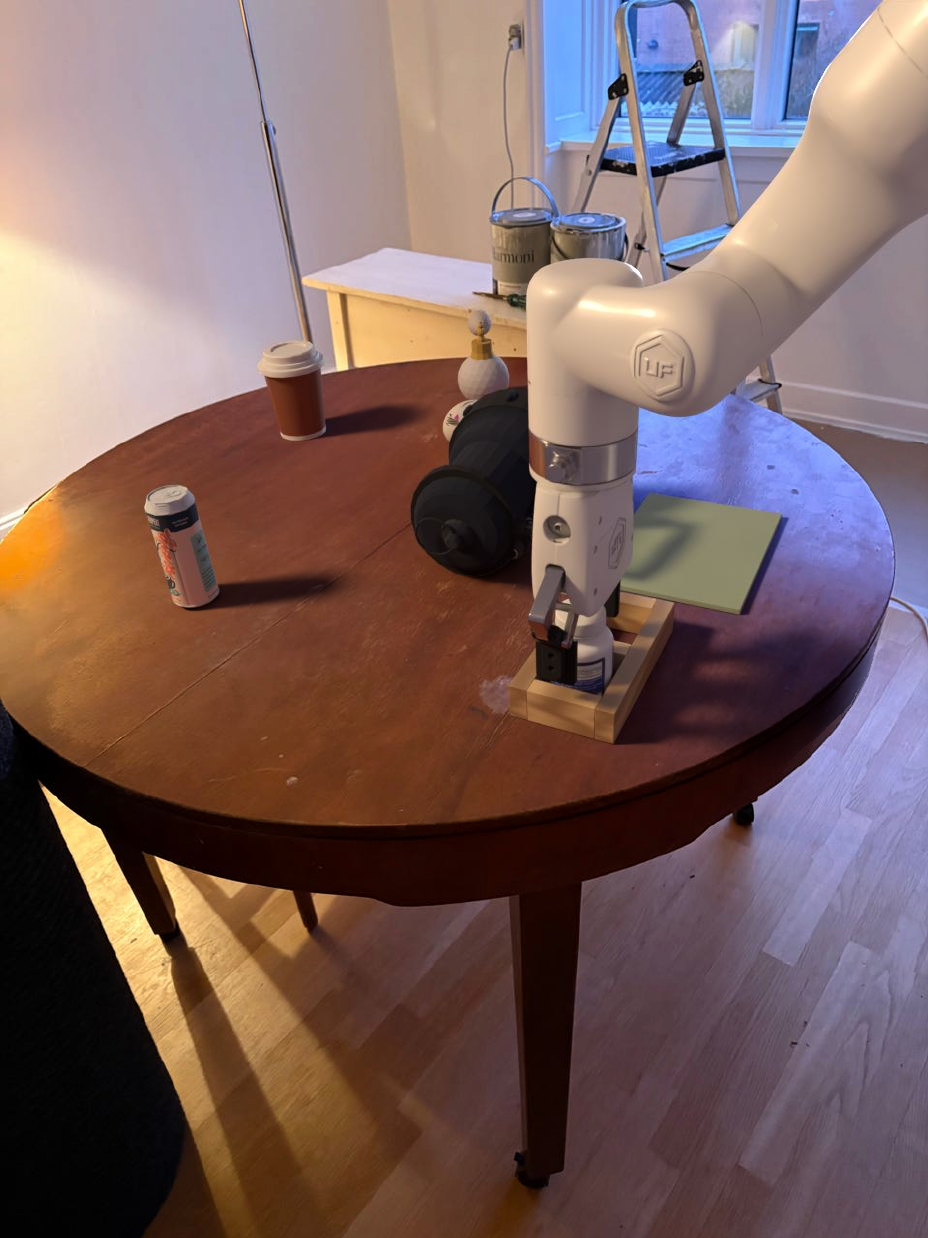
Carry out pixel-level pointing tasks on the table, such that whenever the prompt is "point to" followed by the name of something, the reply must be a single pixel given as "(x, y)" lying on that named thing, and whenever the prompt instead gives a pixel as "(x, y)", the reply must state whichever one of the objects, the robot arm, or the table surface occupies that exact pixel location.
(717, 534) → the mat
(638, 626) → the rack
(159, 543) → the beer can
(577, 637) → the pill bottle
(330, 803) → the table surface
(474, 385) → the perfume bottle
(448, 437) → the white rounded ceramic piece
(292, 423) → the coffee cup
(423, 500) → the flashlight
